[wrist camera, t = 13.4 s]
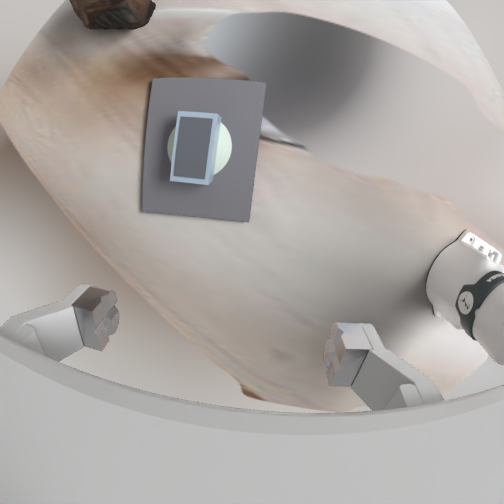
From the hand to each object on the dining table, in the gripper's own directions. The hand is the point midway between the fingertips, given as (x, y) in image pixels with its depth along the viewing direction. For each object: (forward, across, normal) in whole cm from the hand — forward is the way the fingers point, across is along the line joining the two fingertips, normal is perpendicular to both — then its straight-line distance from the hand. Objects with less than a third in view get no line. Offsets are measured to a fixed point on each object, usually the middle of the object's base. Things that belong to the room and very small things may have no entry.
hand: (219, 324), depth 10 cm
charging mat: (+31, +8, -5) cm, 33 cm away
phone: (+30, +8, -5) cm, 31 cm away
